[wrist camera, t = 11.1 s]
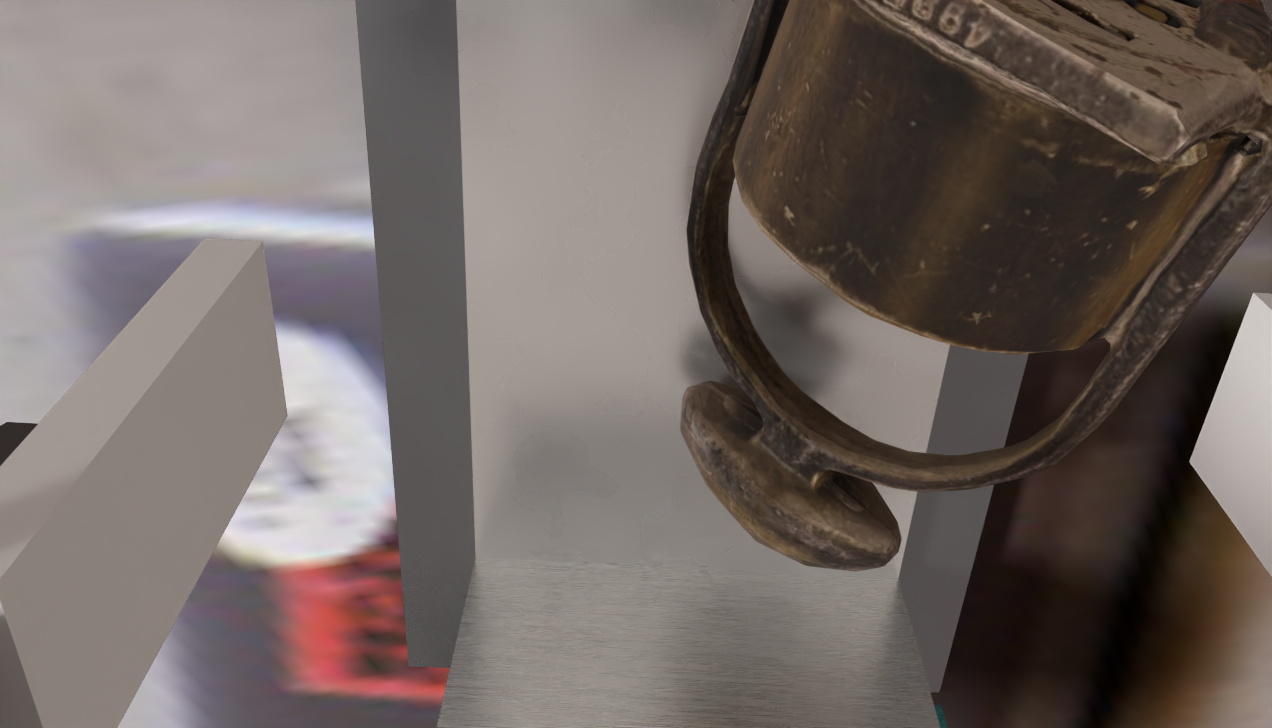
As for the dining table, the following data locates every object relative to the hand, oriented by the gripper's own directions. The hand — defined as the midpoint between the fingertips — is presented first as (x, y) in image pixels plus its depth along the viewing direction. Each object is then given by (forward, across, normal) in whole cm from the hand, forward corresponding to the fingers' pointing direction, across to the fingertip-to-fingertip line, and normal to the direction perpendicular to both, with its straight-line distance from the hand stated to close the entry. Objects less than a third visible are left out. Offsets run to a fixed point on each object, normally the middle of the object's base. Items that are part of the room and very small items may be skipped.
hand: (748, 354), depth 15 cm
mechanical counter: (+7, 0, 0) cm, 7 cm away
